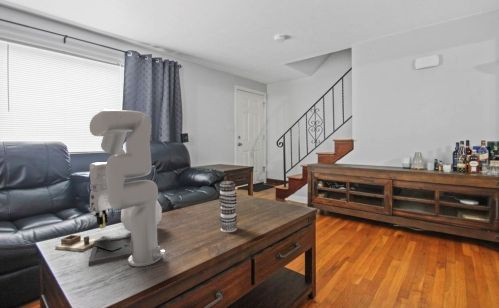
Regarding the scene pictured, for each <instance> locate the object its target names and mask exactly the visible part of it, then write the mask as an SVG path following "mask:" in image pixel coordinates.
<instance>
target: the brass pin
mask: <svg viewBox="0 0 499 308" xmlns="http://www.w3.org/2000/svg"><path fill="white" fill-rule="evenodd" d="M102 217H103V225H99V229H105V228H107V227H106V223H105V213H102Z"/></svg>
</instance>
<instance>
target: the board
mask: <svg viewBox="0 0 499 308" xmlns="http://www.w3.org/2000/svg"><path fill="white" fill-rule="evenodd" d="M98 240H102V239H101V238H90V236H88V235H87V236H84V237H81V235H80V234H79V235H77V234H71V235H68V236H65V237H63V238H61V239H60V242H61V243H60V244H57V245H55V247H54V248H55V250H61V251H62V250H64V251H74V252H82V253H83V252H86V251H87V250H89V249H91V248H93V244H94V241H98Z"/></svg>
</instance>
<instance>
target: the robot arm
mask: <svg viewBox="0 0 499 308" xmlns="http://www.w3.org/2000/svg"><path fill="white" fill-rule="evenodd" d="M89 131H90V134H91V135H93V137H102V139H101V143H100V148H101V149H102V150H103V151H104V152H105V153H107V154H109V155H110V156H109V157H108V158H107V160H106V161H105V162H103V161H102V162H99V161H98V162H91V163H90V164H89V176H90V177H89V179H90V187H89V189H90V194H89V209H90V213H89V214H90V215H94V216H95V217H96V224H97V225H99V226H100V225H103V217H102V213H105V224H107V223H109V222H108V221H109V219H108V215H109V212H110V210H111V209H112V210H114V211H121V210H122V209H126V208H131V207H134V209H133V211H132V213H131V216H130V226H131V231H130V236H131V246H132V255H131V256H130V257H128V258H127V264H128V265H129V266H132V267H138V268H139V267H146V266H149V265H153V264H156V263H157V262H158V261H160V260H161V259H165V258H166V255H167V253H166V252H167V251H166V250H165V249H161V245H158V226H157V225H158V224H157V221H156V204H157V201H158V195H159V188H158V185H157V183H156V182H155V181H153V180H150V179H141V180H140V179H139V180H134V181H129V182H125V180H127V179H129V180H130V179H134V178H141V177H145V176H148V175H150V174H151V172H152V168H153V167H152V165H153V164H152V155H151V154H152V153H151V144H150V143H151V142H150V141H151V140H150V139H151V132H152V121H151V118H150V116H149V115H148V114H147V113H146V112H142V111H138V110H126V109H110V108H109V109H103V110H100V111H99V112H98V113H96V114H94V115H93V117H92V118H91V120H90V122H89ZM128 132H129V134H128ZM127 135H128V136H127ZM125 140H126V141H125ZM124 144H125V145H126V147H125V148H126V151H125V150H124V148H123V146H124ZM97 225H96V226H97Z"/></svg>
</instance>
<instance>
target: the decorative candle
mask: <svg viewBox="0 0 499 308" xmlns="http://www.w3.org/2000/svg"><path fill="white" fill-rule="evenodd" d="M219 186H220V190H219V193H218V195H219V196H218V199H219V207H220V216H219V217H220V224H219V225H220V231H221V232H223V233H233V232H236V231H237V230H238V228H237V227H238V225H237V224H238V223H237V212H236V208H237V205H236V204H237V201H238V200H237V197H238V195H237V194H238V193H237V192H236V183H235V182H234V181H231V180H224V181H222V182H220V184H219Z"/></svg>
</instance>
